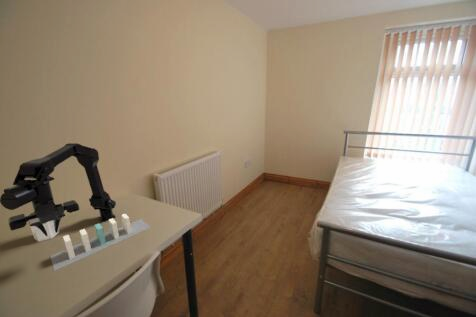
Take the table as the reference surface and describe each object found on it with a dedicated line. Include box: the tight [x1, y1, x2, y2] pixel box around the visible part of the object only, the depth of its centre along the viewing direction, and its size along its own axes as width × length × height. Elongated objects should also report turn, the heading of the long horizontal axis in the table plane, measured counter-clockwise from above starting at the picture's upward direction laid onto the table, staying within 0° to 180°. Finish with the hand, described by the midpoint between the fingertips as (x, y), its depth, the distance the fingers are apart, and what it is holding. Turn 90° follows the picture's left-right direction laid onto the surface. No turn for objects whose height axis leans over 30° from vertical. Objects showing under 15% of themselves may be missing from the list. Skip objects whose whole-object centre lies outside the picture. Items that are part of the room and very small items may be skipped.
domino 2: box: [79, 228, 91, 252], centre depth 88 cm, size 2×5×8 cm, turn 47°
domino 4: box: [108, 218, 119, 239], centre depth 96 cm, size 2×5×8 cm, turn 47°
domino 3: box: [94, 223, 106, 245], centre depth 92 cm, size 2×5×8 cm, turn 47°
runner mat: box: [49, 218, 152, 271], centre depth 94 cm, size 11×37×1 cm, turn 137°
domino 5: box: [121, 213, 132, 234], centre depth 100 cm, size 2×5×8 cm, turn 47°
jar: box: [29, 211, 60, 243], centre depth 96 cm, size 9×8×12 cm
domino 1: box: [62, 234, 75, 259], centre depth 84 cm, size 2×5×8 cm, turn 47°
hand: (51, 233), depth 79 cm, fingers open, 2 cm apart
